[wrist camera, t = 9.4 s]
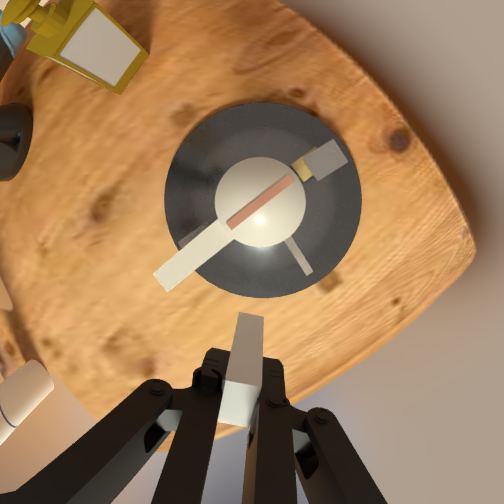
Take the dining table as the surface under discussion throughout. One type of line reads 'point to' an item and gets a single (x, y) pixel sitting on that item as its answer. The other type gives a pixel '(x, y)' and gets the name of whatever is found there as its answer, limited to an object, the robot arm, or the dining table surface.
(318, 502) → the robot arm
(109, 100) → the dining table surface
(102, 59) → the soap bottle
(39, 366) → the container
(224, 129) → the post base
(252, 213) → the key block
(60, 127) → the dining table surface
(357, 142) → the dining table surface
